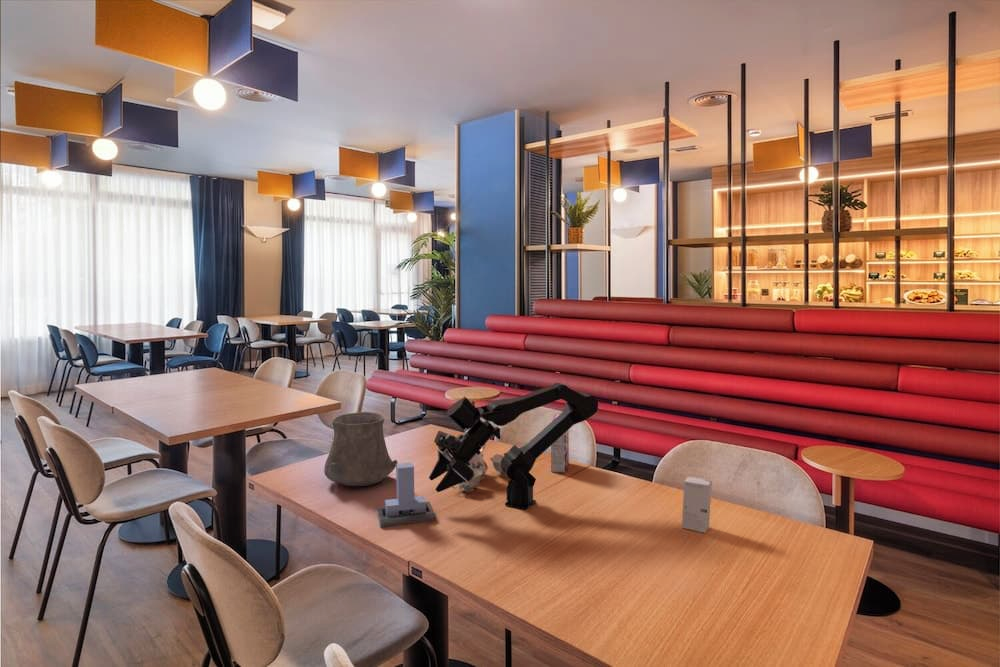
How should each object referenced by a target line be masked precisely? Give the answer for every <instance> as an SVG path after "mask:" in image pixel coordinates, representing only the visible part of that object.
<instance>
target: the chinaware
mask: <svg viewBox="0 0 1000 667" xmlns="http://www.w3.org/2000/svg"><path fill="white" fill-rule="evenodd" d="M468 430H469V429H466V431H465V432H464V433H461V434H462V435H463V436H464V434H465V433H466V432H467V431H468ZM486 444H487V442H486V443H485V444H484V446H483V447H482V448H481V449H480V450H479V451H480V452H481V453H480V454H479V455H478V454H477V453H476V454H475V456H474V457H473V458H472V459H471V460H470V461H469V463H470V465H469V466H470V467H471V469H472V470H473V471H474V477H473V478H472V479H471V480H470V481H469V482H468V481H467V480H466V479H465V480H466V482H462V483H460V484H458V486H457V485H456V487H455V486H452V487H451V488H452V489H457V488H458V489H459V491H461V490H463V491H464V492H472V491H475V488H476V487H477V486H478V485H479V483H480V481H482V480H483V479H484V478H485V476H484V475H486V472H487V471H488V464H487V463H486V461H485V459H484V453H483V452H484V450H485V448H486ZM504 456H505V455H504V454H498V453H497V454H495V455H493V456H492V457H490V458H489V460H490V461H491V462H492V466H493V469H494V470H495V471H496V472H498V475H499V476H504V477H505V476H507V475H506V474H505V473H504V472H503V471H502V469H501V460H502V458H503V457H504Z"/></svg>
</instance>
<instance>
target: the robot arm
mask: <svg viewBox="0 0 1000 667" xmlns="http://www.w3.org/2000/svg"><path fill="white" fill-rule="evenodd" d="M560 400H563V401H564V402H566V403H565V406H564V408H563V410H562V411H561V412H560V414H558V415H559V416H558V417H556V418H555V419H554V420H553V419H552V420H553V421H551V422H549V424H547V425H546V426H545V427H544V428H543V429H542V430H540V432H538V434H536V435H535V436H534V437H533V438H532V439H531V440H530V441H529V442H528V443H526V444H525V445H523V446H521V447H518V446H517V445H513V446H511V448H509V450H508V451H507V452H504V453H503V455H505V456H504V457H503V458H502V460H501V469H502V471H503V472H504V473H505V474H506V475H505V476H507V478H508V479H509V480H508V481H507V486H506V502H505V503H504V505H505V506H507V507H512V508H517V509H521V510H526V509H528V508H529V507H530V508H531V506H533V505H535V503H536V502H537V500H536V499H534V486H535V484H536V479H537V478H535V477H534V476H533V475H532V474H531V473H530V472H531V471H532V469H533V467H534V465H535V463H536V460H537V459H538V458H539V457H540V456H541V455H542V454H543V453H545V452H546V451H547V450H548V449H549V448H550V447H551V445H552V444H553V443H554V442H555V441H556V440H558V439H559V438H560V437H561V436H562V435H563V434H564V433H565V432H566V431H568V430H570V429H571V428H572V427H573V426H574V425H576V424H579V423H582V422H584V421H587V420H588V419H589V418H591V417H593V416H594V415H596V414H597V413H598V410H599V401H598V400H597V398H596V397H594V396H592V395H590V394H588V393H586V392H584V391H575V390H574V389H572V388H570V387H568V386H567V384H564V383H561V382H555V383H553V384H552V385H549V386H546V387H543V388H540V389H537V390H534V391H532V392H528V393H527V394H523V395H521V396H518V397H514V398H513V397H512V398H502V399H496V400H495V399H494V400H491V401H489V402H488V403H487V404H485V405H482V406H478V407H476V406H475V405H474V404H473V403H472V402H471V401H470V400H469V399H468V398H467V397H466V396H463V397H462V398H461V399H459V400H457V401H456V402H455V403H453V404H452V405H451V406H450V407H449V408H448V409H447V411H446V416H447V417H448V418H449V419H450V420H451V422H454V423H455V425H457V426H458V427H459V428H460V429H461V430H465V429H466V431H467V430H468V429H469V430H468V431H467V432H466V431H465V432H466V433H465V432H464V433H465V434H464V433H461V434H459V435H458V436H457V437H456V436H455V435H452V434H450V433H446V432H444V431H441V430H438V431H437V434H436V435H435V438H434V440H433V443H435V445H436V446H437V448H438V449H437V456H438V457H437V458H438V459H437V461H436V463H435V465H434V467H433V468H432V471H431V473H430V474H429V477H428V479H429V480H430V481H434V480H435V479H438V478H439V477H441V476H442V475H443V474H444V476H443V477H442V479H441V480H440V482H439V483H438V485H437V486H436V488H435V491H436V492H437V493H440V492H443V491H445V490H447V489H449V488H452V486H453V487H455V486H457V485H459V484H460V483H462V482H466V480H467V481H468V482H469V481H470V480H471V479H472V478H473V477H474V471H473V470H472V469H471V467H470V466H469V465H470V463H469V461H470V460H471V459H472V458H473V457H474V456H475V454H476V453H477V454H478V455H479V454H480V453H481V452H480V451H481V449H482V447H483V446H484V444H485V443H486V444H487V442H489V440H490V439H491V438H492V437H493V436H494V437H495V438H497V439H498V440H501V428H500V427H503V426H507V425H508V424H510V423H511V422H513V421H515V420H516V419H518V417H519V416H520V415H522V414H524V413H526V412H530V411H532V410H534V409H537V408H540V407H543V406H545V405H548V404H552V403H554V402H556V401H560ZM480 417H481V418H482V419H483V420H485V421H483V420H482V419H480ZM491 422H492V423H493V424H494V425H495V426H494V425H493V424H492V423H491ZM462 434H464V436H463V435H462ZM479 450H480V451H479ZM481 454H482V453H481ZM465 479H466V480H465Z"/></svg>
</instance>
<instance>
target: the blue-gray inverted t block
mask: <svg viewBox="0 0 1000 667" xmlns="http://www.w3.org/2000/svg"><path fill="white" fill-rule="evenodd" d="M395 473H396V474H395V475H396V479H395V481H396V498H392V499H385V500H384V507H385V516H384V517H388V516H397V515H400V514H399V511H400V510H409V509H412V513H411V514H414V513H422V512H427V511H426V502H427V500H426V499H425V496H424V495H420V496H415V466H414V464H413V462H409V461H408V462H400V463H399V462H398V463H397V464H396V467H395Z"/></svg>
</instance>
